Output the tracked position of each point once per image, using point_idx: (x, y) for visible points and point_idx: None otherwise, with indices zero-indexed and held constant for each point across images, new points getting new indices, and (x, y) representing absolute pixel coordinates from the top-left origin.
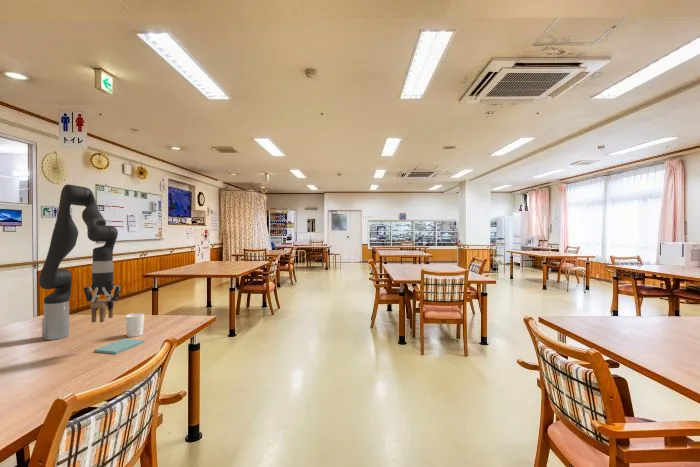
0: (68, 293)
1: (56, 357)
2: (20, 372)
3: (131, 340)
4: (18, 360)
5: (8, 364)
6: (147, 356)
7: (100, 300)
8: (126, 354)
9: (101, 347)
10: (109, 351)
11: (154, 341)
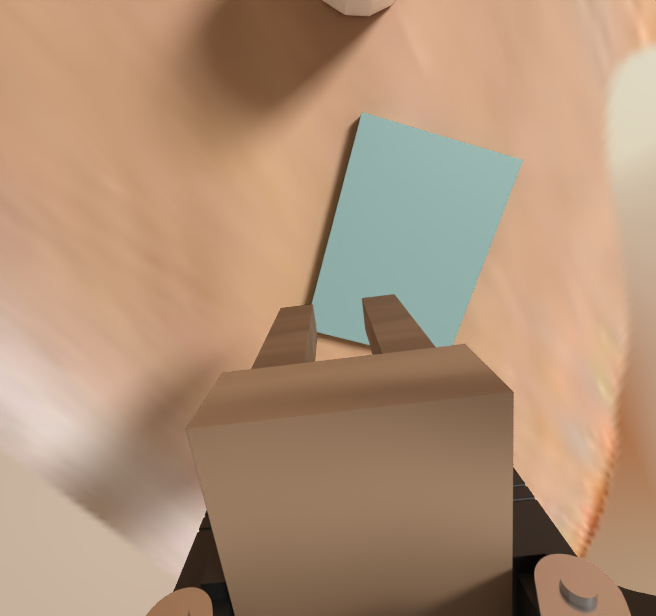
0: None
1: (172, 393)
2: (175, 534)
3: (434, 161)
4: (27, 424)
5: (35, 464)
6: (616, 392)
7: (250, 544)
8: (498, 364)
9: (321, 295)
10: None
11: (575, 139)
